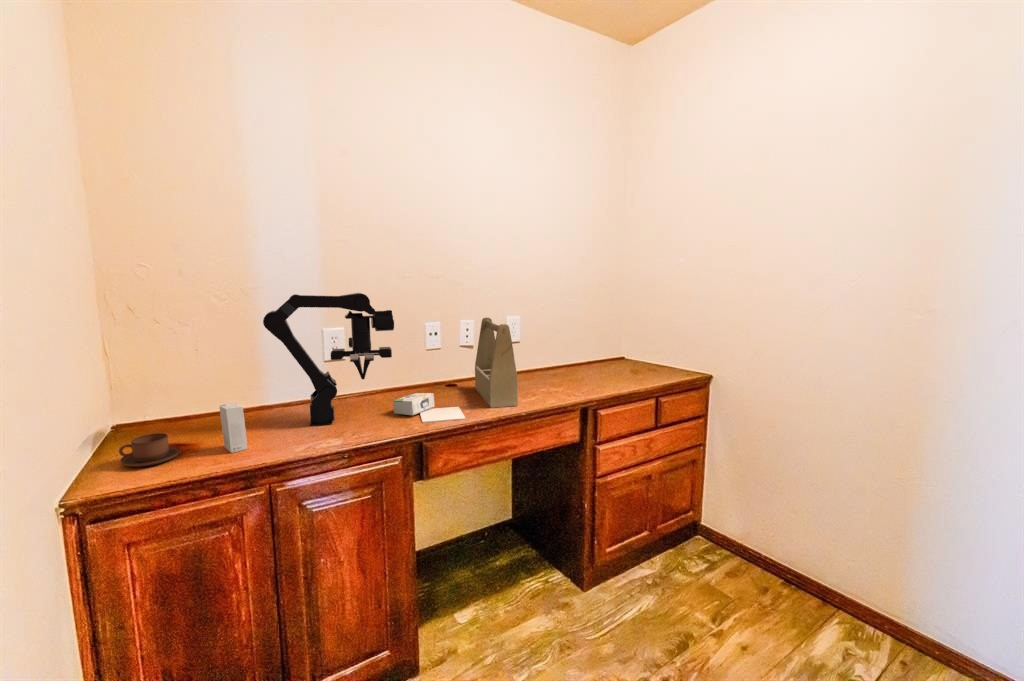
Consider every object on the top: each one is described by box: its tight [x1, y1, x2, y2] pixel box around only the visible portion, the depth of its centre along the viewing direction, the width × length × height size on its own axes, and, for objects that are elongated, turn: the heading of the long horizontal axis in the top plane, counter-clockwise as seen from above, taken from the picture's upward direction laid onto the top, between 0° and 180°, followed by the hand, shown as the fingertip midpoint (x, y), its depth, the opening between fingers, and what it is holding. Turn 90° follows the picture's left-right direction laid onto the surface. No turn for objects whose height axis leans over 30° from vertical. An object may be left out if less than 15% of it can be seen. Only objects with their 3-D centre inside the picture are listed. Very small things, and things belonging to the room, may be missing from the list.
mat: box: [419, 406, 467, 424], centre depth 157 cm, size 14×14×1 cm
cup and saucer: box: [118, 432, 181, 468], centre depth 117 cm, size 12×12×6 cm
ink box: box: [392, 392, 436, 416], centre depth 160 cm, size 9×5×12 cm
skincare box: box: [219, 402, 248, 454], centre depth 125 cm, size 6×4×12 cm
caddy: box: [474, 317, 519, 409], centre depth 178 cm, size 29×11×30 cm, turn 15°
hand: (363, 379), depth 152 cm, fingers closed
